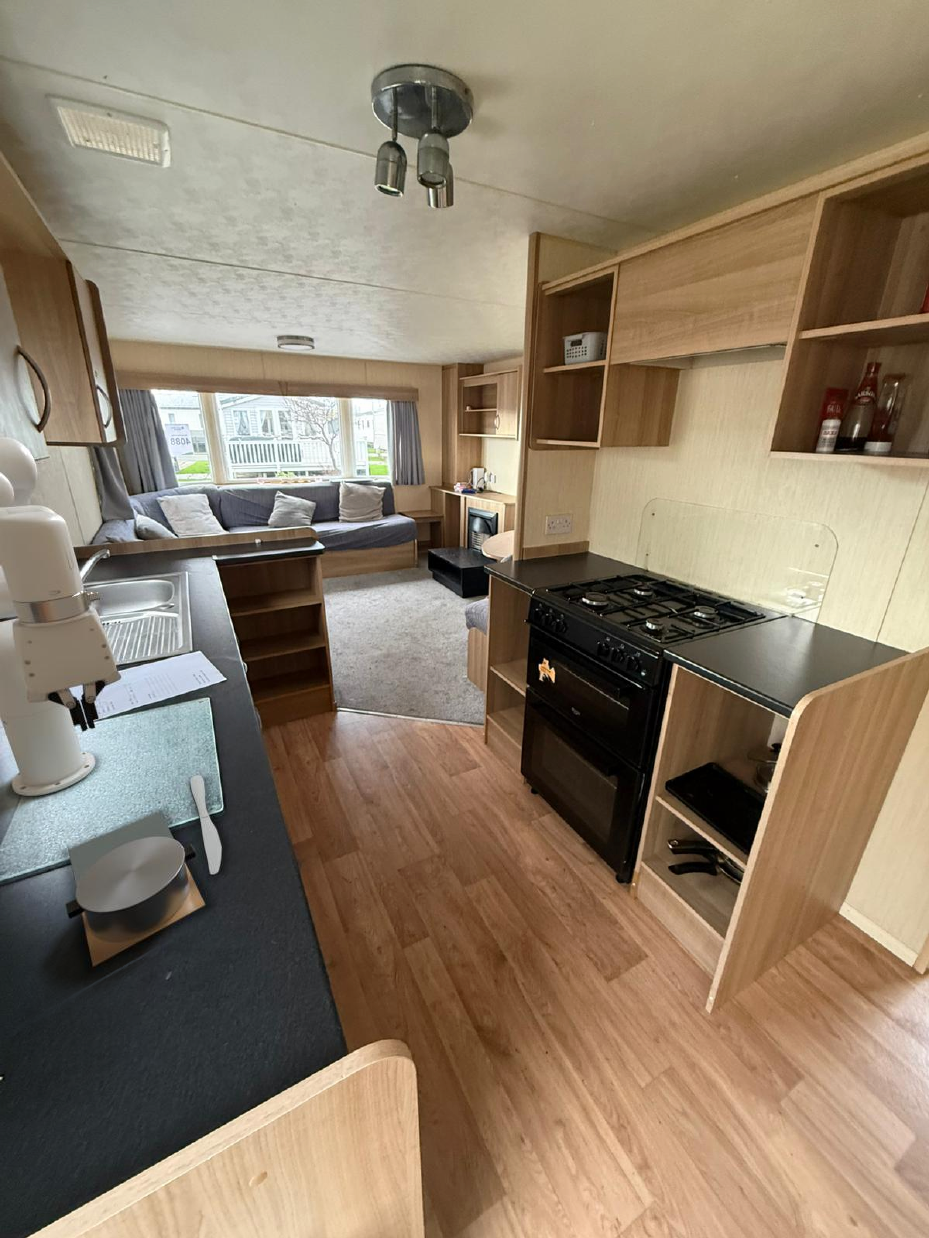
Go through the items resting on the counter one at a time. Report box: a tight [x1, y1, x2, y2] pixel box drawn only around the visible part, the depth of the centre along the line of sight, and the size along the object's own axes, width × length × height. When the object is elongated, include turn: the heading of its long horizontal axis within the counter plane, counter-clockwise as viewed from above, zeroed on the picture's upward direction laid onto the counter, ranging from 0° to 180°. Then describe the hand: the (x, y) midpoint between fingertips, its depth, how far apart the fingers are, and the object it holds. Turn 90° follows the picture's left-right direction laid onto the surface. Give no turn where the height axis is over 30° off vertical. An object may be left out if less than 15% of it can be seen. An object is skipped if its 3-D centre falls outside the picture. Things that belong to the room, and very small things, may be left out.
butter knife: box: [189, 774, 223, 876], centre depth 86 cm, size 1×27×3 cm
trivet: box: [81, 862, 206, 967], centre depth 70 cm, size 12×13×1 cm
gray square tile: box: [68, 810, 175, 889], centre depth 79 cm, size 12×13×1 cm
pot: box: [65, 837, 197, 942], centre depth 70 cm, size 13×15×6 cm
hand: (87, 725), depth 73 cm, fingers closed
